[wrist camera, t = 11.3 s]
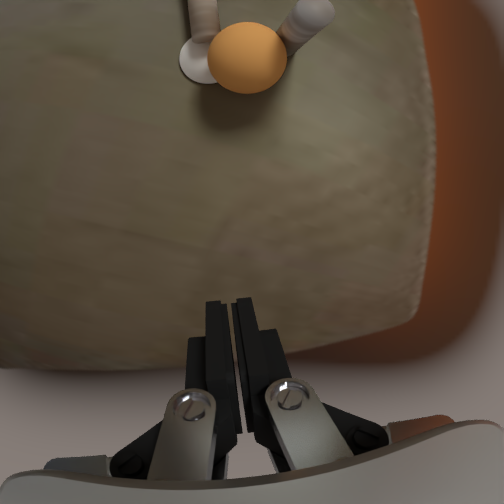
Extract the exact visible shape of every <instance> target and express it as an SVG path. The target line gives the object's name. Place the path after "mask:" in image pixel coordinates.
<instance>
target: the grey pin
mask: <svg viewBox="0 0 504 504" xmlns="http://www.w3.org/2000/svg"><path fill="white" fill-rule="evenodd" d="M334 17H335V10H334V8H333V6H332V4H331V3H330V2H329V1H328V0H299V1H298V2H297V4H296V5H295V6H294V8H293V9H292V11H291V12H290V13H289V15H288V16H287V17H286V19H285V20H284V22H283V23H282V24H281V26H280V27H279V29H278V30H277V32H276V34H277V35H278V36H279V37H280V38H281V40H282V41H283V43H284V45H285V48H286V52H287V56H290V55H292V54H294V53H295V52H296V51H297V50H298V49H299V48H301V47H302V46H303V45H304V44H305V43H306V42H308V41H309V40H310V39H311V38H312V37H313V36H315V35H316V34H317V33H318V32H319V31H321V30H322V29H323V28H324V27H326V26H327V25H328V24H329V23H331V22H332V21H333V19H334Z"/></svg>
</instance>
